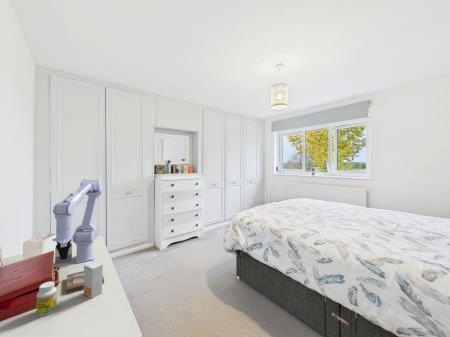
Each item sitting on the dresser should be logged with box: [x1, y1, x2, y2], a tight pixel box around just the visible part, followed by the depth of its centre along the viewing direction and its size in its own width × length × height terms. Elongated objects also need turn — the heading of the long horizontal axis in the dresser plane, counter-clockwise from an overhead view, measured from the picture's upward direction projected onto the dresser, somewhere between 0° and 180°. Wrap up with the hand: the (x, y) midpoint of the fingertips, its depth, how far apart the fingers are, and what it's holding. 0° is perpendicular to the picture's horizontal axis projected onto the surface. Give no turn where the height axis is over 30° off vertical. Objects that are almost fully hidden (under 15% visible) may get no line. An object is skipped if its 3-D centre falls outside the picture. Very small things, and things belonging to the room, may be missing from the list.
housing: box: [54, 244, 73, 266], centre depth 93 cm, size 6×4×7 cm, turn 128°
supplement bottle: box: [36, 281, 58, 317], centre depth 71 cm, size 5×5×10 cm
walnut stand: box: [66, 270, 105, 295], centre depth 90 cm, size 13×13×2 cm
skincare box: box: [83, 260, 104, 299], centre depth 82 cm, size 6×4×12 cm
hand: (63, 257), depth 93 cm, fingers closed on housing, 4 cm apart
